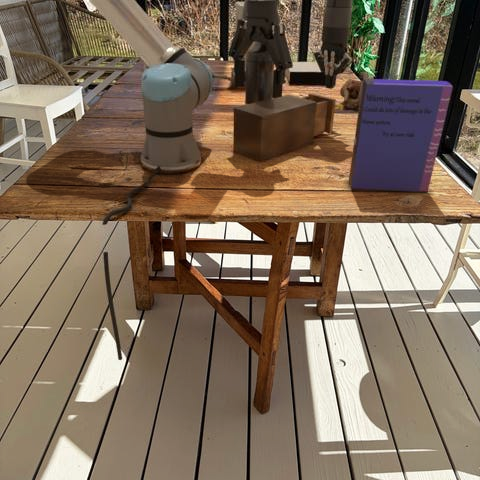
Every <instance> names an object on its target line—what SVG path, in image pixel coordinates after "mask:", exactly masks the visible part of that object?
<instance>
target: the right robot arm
mask: <svg viewBox="0 0 480 480" xmlns="http://www.w3.org/2000/svg"><path fill="white" fill-rule="evenodd" d="M245 1H246V0H244V1H243V2H244V7H243V12H242V19H247V17H246V16H245ZM352 7H353V0H325V7H324V13H323V19H322V31H321V46H320V49H319V50H318V51H316V52H314V53H313V57H314V60H315V62H317V64H318V66H319V68H320V71H321V72H324V73H325V75H326V78H325V84H324V87H325V89H328V90H332V89H334V88H335V87H336V84H337V76H338V75H343V74H344V73H345V71H346V70H347V69H348V67H349V66H350V65H351V64H352V63H353V62H354V57H353V56H350V54H349V53H348V43H349V39H350V33H351V32H350V31H351V22H352V9H353V8H352ZM274 24H275V25H280V24H281V21H280V14H279V11H278V10H277V16H276V17H275V19H274ZM247 31H248V30H247ZM247 31H246V33H247ZM269 40H270V39H269ZM274 70H275V65H274V63H273V60H272V58H271V56H270V54H269V52H268V50H267V48H266V46H265V45H264V44H263V43H259V42H257V41H256V42H254V44H253V45H252V46H251V47H250V48H249V49H248V51H247V52H246V86H245V87H244V88H245V91H244V92H245V93H244V94H245V95H244V105H247V104H251V103H255V102H260V101H264V100H268V99H272V92H273V74H274Z"/></svg>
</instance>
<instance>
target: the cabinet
mask: <svg viewBox="0 0 480 480" xmlns="http://www.w3.org/2000/svg"><path fill="white" fill-rule="evenodd" d="M316 107H317V102H315V101H311V100H307V99H304V98H302V97H299V96H296V95H292V94H285V95H282V97H278V98H272V99H268V100H264V101H260V102H255V103H251V104H247V105H245V104H243V105H240V106H235V107H233V133H232V134H233V140H232V142H233V144H232V145H233V148H232V149H233V152H234V153H235V152H236V153H237V154H240V155H242V156H246V157H247V158H251V159H253V160H255V161H258V162H263V161H266V160H270V159H272V158H275V157H277V156H281V155H284V154H287V153H290V152H292V151H295V150H298V149H301V148H303V147H307V146H309V145H312V144H314V139H315V136H314V128H315V118H316Z"/></svg>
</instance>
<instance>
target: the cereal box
mask: <svg viewBox="0 0 480 480" xmlns="http://www.w3.org/2000/svg"><path fill="white" fill-rule="evenodd" d="M362 81H363V83H362V90H361V97H360V104H359V105H358V110H357V111H358V113H357V119H356V126H355V133H354V139H353V146H352V152H351V153H352V154H351V161H350V168H349V176H348V184H349V186H350V189H351V190H363V191H388V192H389V191H390V192H410V193H411V192H416V193H429V187H430V184H431V179H432V175H433V171H434V167H435V162H436V159H437V155H438V151H439V147H440V143H441V138H442V134H443V130H444V126H445V122H446V117H447V113H448V112H447V111H448V108H449V105H450V102H451V101H450V100H451V96H452V92H453V88H454V86H453V85H452V84H451V83H450V82H449V81H447V80H420V79H419V80H418V79H388V78H383V79H382V78H368V79H363V78H362Z"/></svg>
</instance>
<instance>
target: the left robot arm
mask: <svg viewBox="0 0 480 480" xmlns="http://www.w3.org/2000/svg"><path fill="white" fill-rule="evenodd" d="M88 1H89V2H90V4H91V5H92V6H93V7H94V8H95V9H96V10H97V11H98V12H99V13H100V14H101V15H102V17H103V18H104V19H105V20H106V21H107V22H108V23H109V24H110V25H111V27H112V28H113V29H114V30H115V31H116V32H117V34H119V35H120V37H121V38H122V39H123V40H124V41H125V43H126V44H128V45H129V47H130V48H131V49H132V51H134V53H135V54H136V55H138V57H139V58H140V59H141V60H142V61H143V63H144V62H145V63H146V64H147V66H148V67H149V68H148V69H146V70H145V71H144V70H143V72H142V74H141V79H140V80H141V85H140V91H141V95H142V97H141V98H142V106H143V115H144V125H145V138H144V142H143V146H142V150H141V154H140V162H141V166H142V168H144V169H145V170H146V171H149V172H151V173H150V174H149V176H148V177H147V178H146V180H144V182H142V183H141V184H140V185H139V186H138V187H135V188H134V189H132V190H131V191H129V193H128V194H127V195H126V202H127V204H126V205H125V206H124V207H120V208H119V207H118V208H115V209H113V210H111V211H109V212H108V213H107V214H106V215H105V217H104V218H103V220H102V224H101V225H103V226H105V225H108V222H109V221H110V219H112V217H113V216H115V215H117V214H121V213H125V212H127V211H128V210H130V209H131V208H132V205H133V201H132V197H133V196H134V195H135V194H137V193H139V192H140V191H142V190H144V189H145V188H146V187H147V186H148V185H149V183H150V182H151V181H152V179H154V177H155V176H156V175H157V174H163V175H164V174H165V175H169V174H170V175H172V174H173V175H175V174H182V173H187V172H190V171H193V170H195V169H197V168H198V167H199V166H201V163H202V155H201V151H200V149H199V147H200V148H202V147H203V142H201V141H197V140H196V137H195V135H194V130H193V129H194V126H193V111H194V110H195V109H197V108H198V107H200V106H202V105H203V104H204V103H205V102H206V101H207V99H208V98H209V97H210V95H211V93H212V90H213V87H214V82H213V81H214V78H212V74H213V73H212V71H210V69H209V68H208V66H209V65H207V64H206V63H205V62H203V61H202V60H200V59H198V58H194V57H193V56H192V55H190V53H189V52H188V51H187V50H186V48H185V47H183V46H176V45H174V44H173V43H172V42H171V40H170V39H169V38H168V37H167V36H166V34H164V32H163V31H162V30H161V29H160V27H159V26H157V24H156V23H155V22H154V20H152V18H150V16H149V15H148V13H146V11H144V9H143V8H142V7H141V5H139V4H138V2H137V1H136V0H88ZM244 2H245V16H246V17H247V19H238V21H237V29H236V28H235V32H234V35H233V38H232V41H231V44H230V47H229V50H228V52H227V55H228V57H229V58H232V60H233V68H234V73H235V87H236V88H235V89H239V88H238V87H242V86H244V80H245V60H241V59H244V56H245V54H246V52H247V51H248V49H249V48H250V46H251V45H252V43H253V42H256V41H257V42H259V43H263V44H264V45H265V46H266V48H267V50H268V52H269V54H270V56H271V58H272V60H273V63H274V74H273V92H272V98H278V97H282V96H283V88H284V84H285V83H284V82H285V80H286V74H285V71H286V69H289V68H292V67H293V63H292V62H293V59H292V56H291V53H290V52H291V51H290V48H289V44H288V41H287V37H286V25H285V24H283V23H280V25H275V24H274V19H275V17H276V16H277V11H278V2H277V0H246V1H245V0H244ZM247 30H248V31H247ZM246 31H247V33H246ZM243 39H244V40H243ZM269 39H270V40H269ZM192 57H193V58H192ZM242 88H243V87H242ZM102 255H103V256H102V257H103V268H104V280H105V288H106V295H107V300H108V301H107V302H108V308H109V313H110V318H111V324H112V330H113V334H114V340H115V341H114V342H115V347H116V352H117V359H118V360H119V361H122V360H123V353H122V347H121V341H120V334H119V328H118V323H117V317H116V312H115V306H114V299H113V293H112V286H111V285H112V284H111V277H110V266H109V265H110V263H109V252H108V251H103V253H102Z"/></svg>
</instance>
